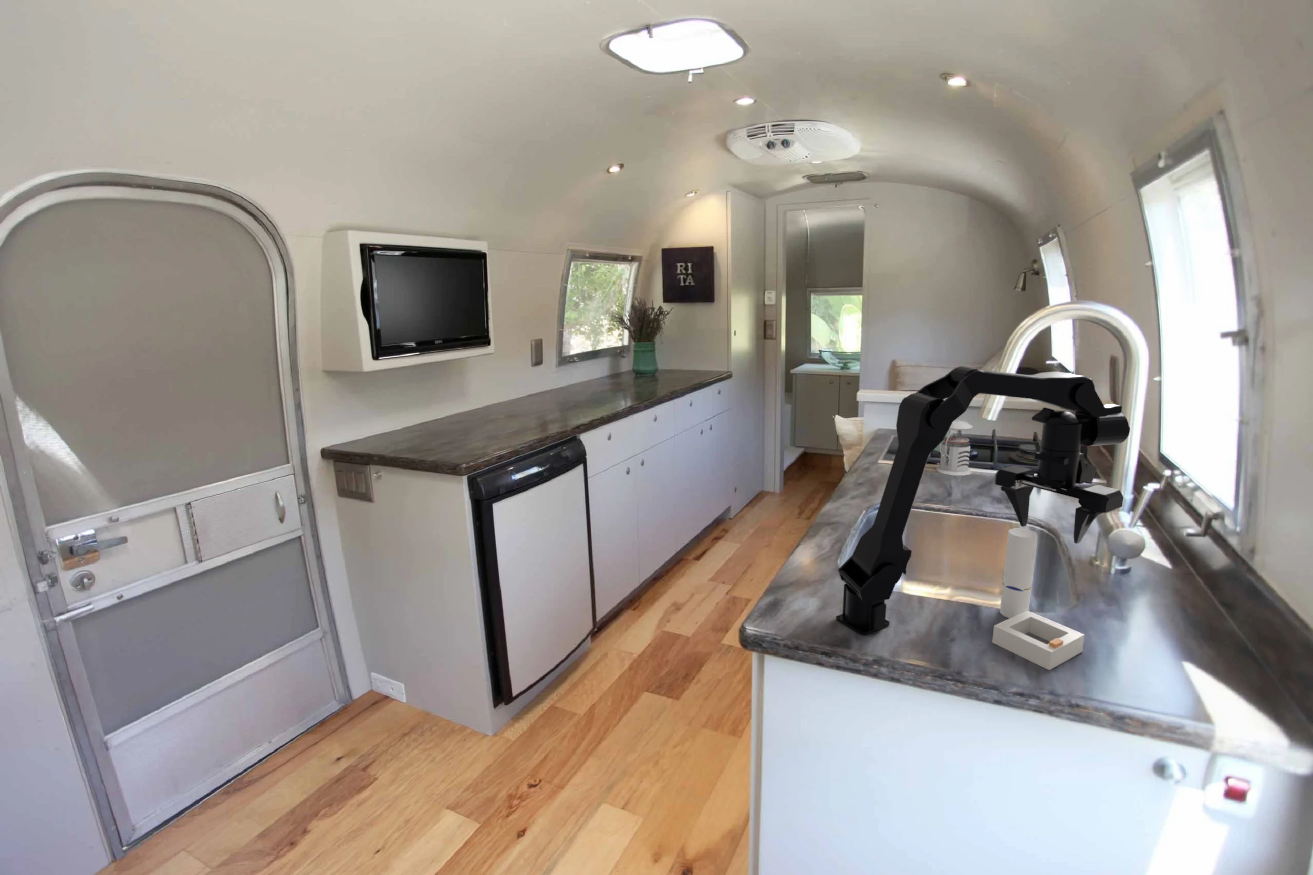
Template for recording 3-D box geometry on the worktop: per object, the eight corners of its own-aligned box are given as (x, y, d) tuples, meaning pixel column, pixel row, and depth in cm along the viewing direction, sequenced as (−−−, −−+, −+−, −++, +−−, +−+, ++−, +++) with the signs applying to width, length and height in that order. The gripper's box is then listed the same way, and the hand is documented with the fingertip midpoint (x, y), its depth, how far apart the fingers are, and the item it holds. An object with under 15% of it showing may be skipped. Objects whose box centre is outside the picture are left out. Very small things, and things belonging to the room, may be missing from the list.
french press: (978, 471, 193) (986, 388, 187) (956, 478, 187) (963, 393, 181) (947, 464, 201) (954, 384, 195) (925, 471, 195) (931, 388, 189)
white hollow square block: (992, 642, 104) (994, 622, 103) (1025, 626, 108) (1027, 607, 108) (1049, 670, 96) (1052, 648, 96) (1082, 651, 101) (1085, 631, 100)
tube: (1018, 607, 115) (1028, 527, 111) (1033, 619, 111) (1043, 537, 107) (994, 608, 115) (1003, 528, 111) (1008, 620, 110) (1017, 538, 107)
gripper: (1147, 452, 105) (1133, 541, 109) (1033, 430, 121) (1024, 509, 125) (1110, 463, 100) (1097, 556, 104) (996, 439, 116) (988, 521, 119)
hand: (1049, 534), depth 113 cm, fingers open, 9 cm apart
